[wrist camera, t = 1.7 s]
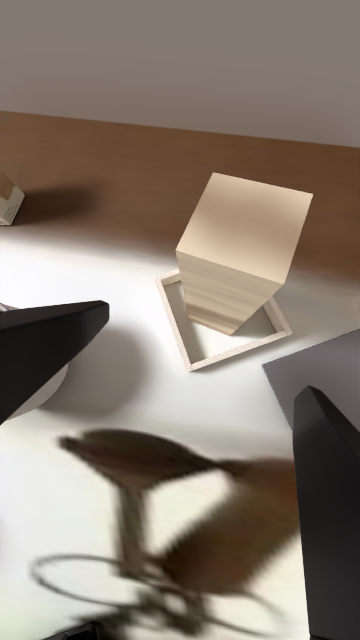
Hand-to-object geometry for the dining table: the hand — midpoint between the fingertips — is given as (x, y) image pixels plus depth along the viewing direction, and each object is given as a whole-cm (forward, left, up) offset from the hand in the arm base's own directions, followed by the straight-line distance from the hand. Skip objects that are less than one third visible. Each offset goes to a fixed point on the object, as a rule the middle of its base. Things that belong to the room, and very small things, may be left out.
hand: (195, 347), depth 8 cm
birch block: (+5, -4, -12) cm, 14 cm away
